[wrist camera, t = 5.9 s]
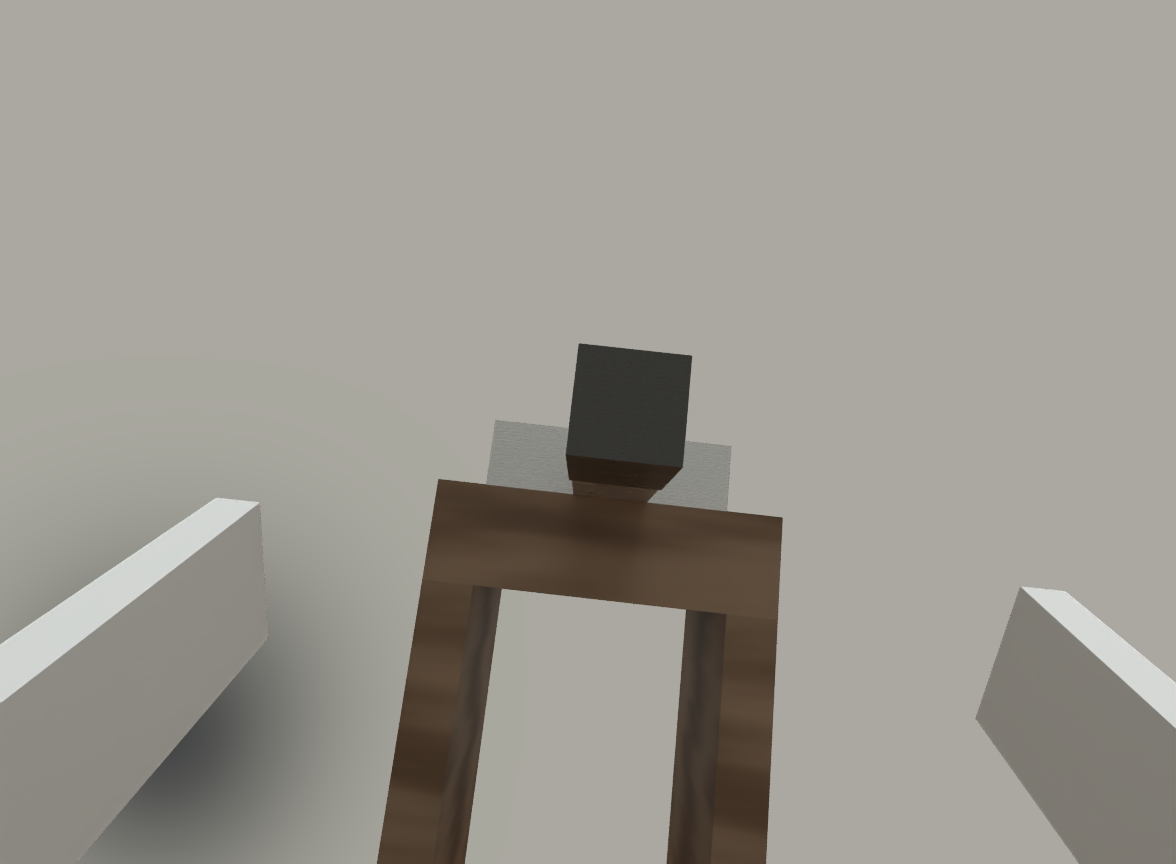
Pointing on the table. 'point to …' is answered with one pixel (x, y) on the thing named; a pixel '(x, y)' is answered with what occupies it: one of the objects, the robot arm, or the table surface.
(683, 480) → the t handle
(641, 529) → the bridge
